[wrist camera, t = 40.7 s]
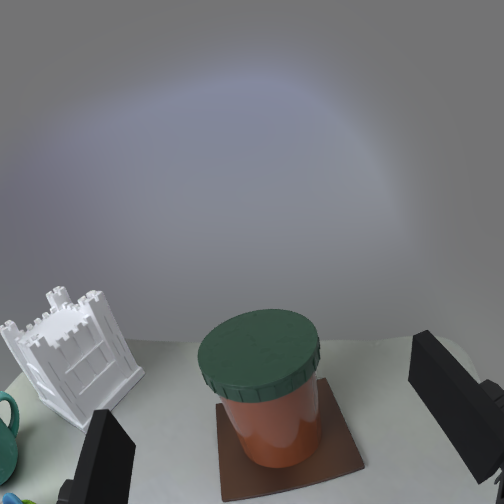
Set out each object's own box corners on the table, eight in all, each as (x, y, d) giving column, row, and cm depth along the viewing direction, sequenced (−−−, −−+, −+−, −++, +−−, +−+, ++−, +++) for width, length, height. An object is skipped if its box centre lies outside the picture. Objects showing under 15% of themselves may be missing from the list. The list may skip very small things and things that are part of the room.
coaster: (325, 380, 37) (325, 377, 37) (364, 468, 24) (365, 465, 24) (216, 406, 37) (215, 404, 36) (223, 502, 24) (221, 500, 23)
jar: (311, 397, 34) (297, 310, 30) (332, 455, 26) (325, 370, 22) (238, 415, 34) (207, 332, 30) (245, 475, 26) (207, 398, 21)
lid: (335, 384, 21) (334, 366, 21) (202, 414, 21) (194, 397, 20) (304, 315, 31) (302, 298, 30) (204, 338, 30) (199, 322, 30)
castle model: (88, 434, 33) (28, 349, 28) (42, 402, 40) (-5, 328, 34) (145, 373, 45) (106, 290, 40) (93, 356, 51) (58, 284, 46)
